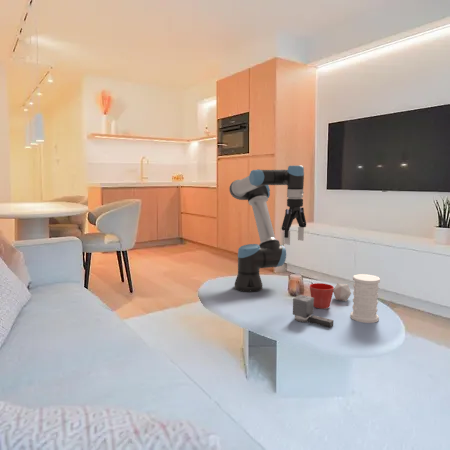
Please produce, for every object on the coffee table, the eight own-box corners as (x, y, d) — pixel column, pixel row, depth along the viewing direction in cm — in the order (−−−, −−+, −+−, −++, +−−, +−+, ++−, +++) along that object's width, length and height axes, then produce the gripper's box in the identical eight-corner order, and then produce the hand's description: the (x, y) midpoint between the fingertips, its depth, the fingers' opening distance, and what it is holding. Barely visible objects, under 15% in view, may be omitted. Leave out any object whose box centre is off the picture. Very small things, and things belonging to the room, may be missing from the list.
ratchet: (291, 319, 165) (291, 305, 164) (299, 315, 171) (299, 301, 170) (328, 329, 155) (328, 314, 154) (335, 324, 160) (335, 309, 160)
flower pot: (317, 300, 189) (317, 281, 188) (337, 306, 182) (338, 286, 180) (304, 306, 182) (305, 285, 181) (325, 312, 174) (326, 291, 173)
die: (342, 305, 185) (354, 289, 185) (327, 293, 189) (339, 278, 189) (344, 305, 192) (356, 290, 192) (330, 294, 196) (341, 279, 196)
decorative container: (376, 325, 160) (378, 282, 157) (347, 319, 165) (349, 278, 163) (380, 315, 170) (382, 276, 167) (353, 311, 175) (355, 272, 173)
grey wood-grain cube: (292, 314, 165) (293, 298, 164) (299, 310, 170) (300, 294, 169) (306, 317, 161) (306, 301, 160) (313, 313, 166) (313, 297, 165)
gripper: (289, 200, 172) (287, 247, 175) (314, 197, 192) (312, 239, 194) (274, 199, 177) (273, 245, 180) (300, 196, 196) (299, 237, 199)
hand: (294, 242), depth 187 cm, fingers open, 13 cm apart
